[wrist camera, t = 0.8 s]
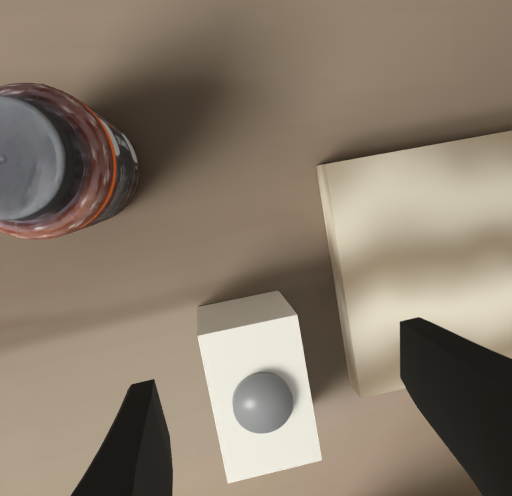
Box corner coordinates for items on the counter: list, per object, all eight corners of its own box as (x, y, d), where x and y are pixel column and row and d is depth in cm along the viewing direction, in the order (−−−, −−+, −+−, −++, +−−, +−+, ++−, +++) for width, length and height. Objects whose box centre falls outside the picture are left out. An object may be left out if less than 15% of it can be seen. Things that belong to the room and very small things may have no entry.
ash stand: (549, 338, 31) (573, 348, 29) (349, 384, 30) (360, 398, 28) (532, 126, 29) (557, 122, 27) (316, 165, 27) (325, 164, 25)
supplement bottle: (141, 118, 26) (99, 68, 15) (140, 224, 27) (100, 253, 15) (28, 112, 25) (-107, 53, 14) (31, 221, 26) (-95, 249, 15)
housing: (298, 409, 30) (324, 465, 24) (221, 427, 29) (228, 489, 23) (278, 289, 28) (299, 317, 22) (197, 306, 28) (197, 339, 22)
